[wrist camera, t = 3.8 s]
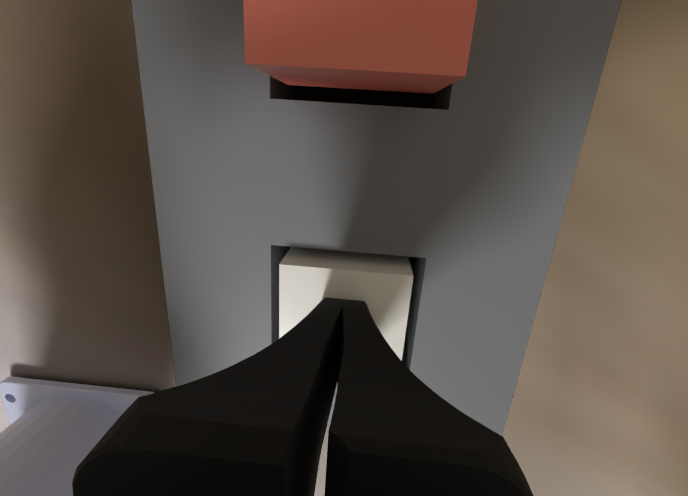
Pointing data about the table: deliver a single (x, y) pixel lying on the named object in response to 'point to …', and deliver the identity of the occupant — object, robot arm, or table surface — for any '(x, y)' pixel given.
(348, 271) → the white cube
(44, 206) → the table surface
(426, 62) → the red button
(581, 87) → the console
